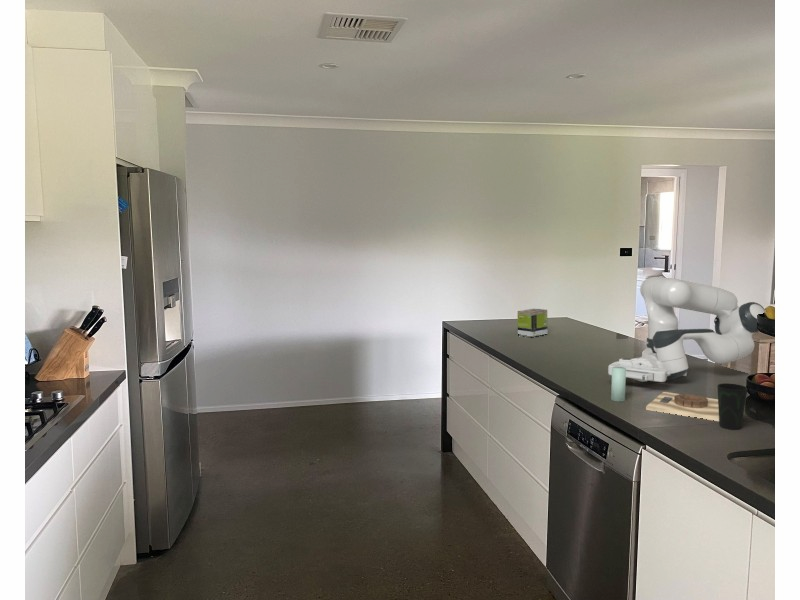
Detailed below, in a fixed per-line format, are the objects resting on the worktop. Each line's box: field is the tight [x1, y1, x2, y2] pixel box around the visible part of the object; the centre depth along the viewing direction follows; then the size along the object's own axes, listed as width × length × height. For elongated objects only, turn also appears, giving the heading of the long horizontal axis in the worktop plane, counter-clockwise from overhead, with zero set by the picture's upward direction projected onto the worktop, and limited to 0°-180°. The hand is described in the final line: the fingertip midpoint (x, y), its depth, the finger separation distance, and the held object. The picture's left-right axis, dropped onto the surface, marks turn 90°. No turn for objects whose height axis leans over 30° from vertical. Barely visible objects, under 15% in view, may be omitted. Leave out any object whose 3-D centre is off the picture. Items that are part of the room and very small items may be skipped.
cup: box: [716, 382, 748, 431], centre depth 173 cm, size 8×8×12 cm
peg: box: [610, 367, 627, 402], centre depth 203 cm, size 4×4×11 cm
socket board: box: [645, 391, 719, 422], centre depth 193 cm, size 22×22×3 cm
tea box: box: [517, 308, 549, 336], centre depth 335 cm, size 15×10×15 cm, turn 130°
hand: (630, 376), depth 212 cm, fingers open, 8 cm apart
